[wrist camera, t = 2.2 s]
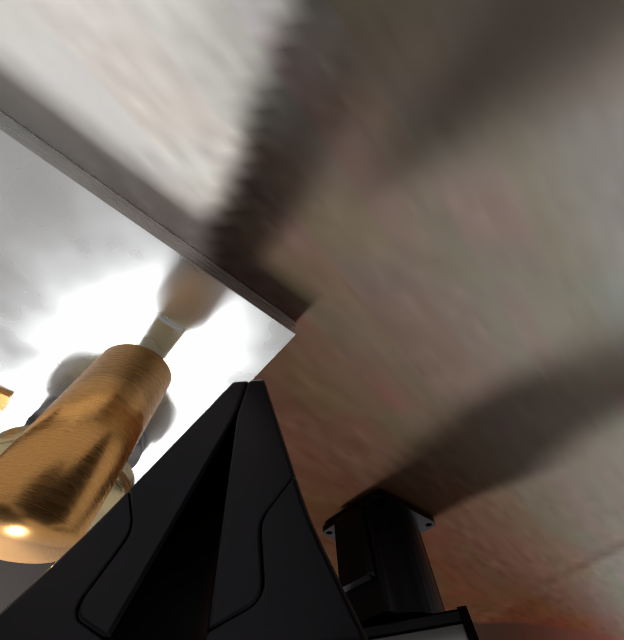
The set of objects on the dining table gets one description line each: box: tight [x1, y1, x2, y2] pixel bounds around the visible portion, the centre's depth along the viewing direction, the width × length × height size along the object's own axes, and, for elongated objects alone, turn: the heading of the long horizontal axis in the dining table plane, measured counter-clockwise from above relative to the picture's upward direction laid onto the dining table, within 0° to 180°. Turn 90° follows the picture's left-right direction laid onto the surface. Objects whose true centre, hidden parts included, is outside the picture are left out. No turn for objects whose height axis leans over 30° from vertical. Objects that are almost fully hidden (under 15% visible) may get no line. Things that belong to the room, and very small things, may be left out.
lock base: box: [0, 111, 296, 483], centre depth 13 cm, size 15×18×4 cm
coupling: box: [0, 343, 172, 563], centre depth 11 cm, size 12×6×6 cm, turn 139°
